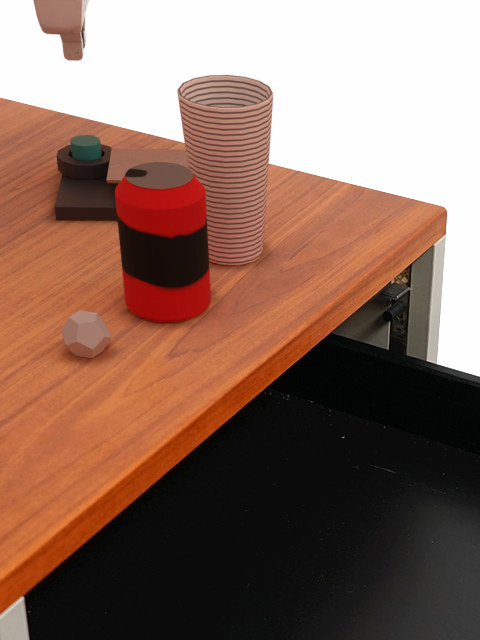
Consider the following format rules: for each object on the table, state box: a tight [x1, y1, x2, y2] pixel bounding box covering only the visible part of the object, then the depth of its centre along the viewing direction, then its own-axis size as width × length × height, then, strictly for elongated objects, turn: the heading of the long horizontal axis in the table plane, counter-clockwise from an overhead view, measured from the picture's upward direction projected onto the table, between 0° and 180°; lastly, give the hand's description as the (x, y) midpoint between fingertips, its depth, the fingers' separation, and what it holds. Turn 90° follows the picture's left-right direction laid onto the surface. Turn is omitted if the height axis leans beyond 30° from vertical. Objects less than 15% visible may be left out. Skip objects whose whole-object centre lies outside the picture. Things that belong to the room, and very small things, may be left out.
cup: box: [176, 74, 274, 266], centre depth 129 cm, size 8×8×16 cm
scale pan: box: [106, 147, 188, 183], centre depth 140 cm, size 8×8×1 cm
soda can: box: [115, 162, 212, 323], centre depth 121 cm, size 8×8×12 cm
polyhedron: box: [60, 309, 112, 359], centre depth 116 cm, size 4×4×3 cm
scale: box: [54, 143, 119, 222], centre depth 141 cm, size 14×12×3 cm
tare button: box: [69, 134, 102, 161], centre depth 142 cm, size 3×3×2 cm
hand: (75, 53), depth 136 cm, fingers closed
